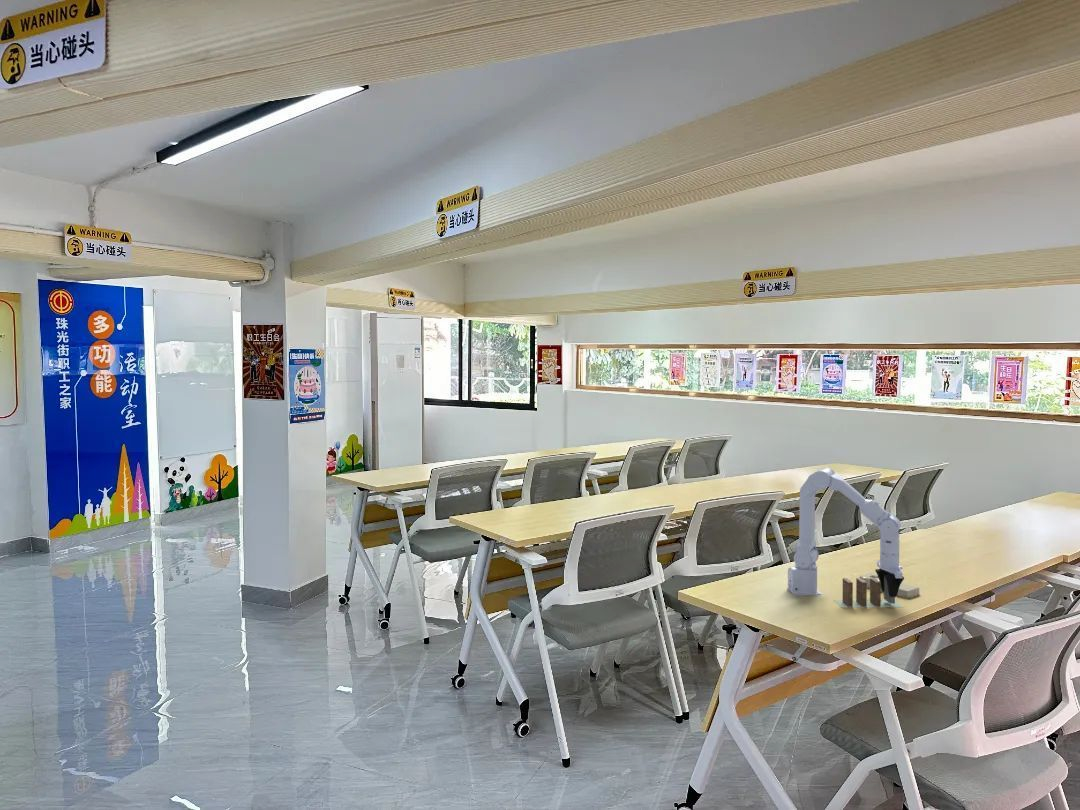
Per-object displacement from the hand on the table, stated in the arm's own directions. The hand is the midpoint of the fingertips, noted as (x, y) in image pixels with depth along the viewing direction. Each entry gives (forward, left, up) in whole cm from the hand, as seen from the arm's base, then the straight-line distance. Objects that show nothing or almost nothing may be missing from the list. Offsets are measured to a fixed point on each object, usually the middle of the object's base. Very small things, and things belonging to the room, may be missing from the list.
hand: (889, 593), depth 241 cm
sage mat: (-6, 0, -4) cm, 7 cm away
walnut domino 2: (-9, 0, -3) cm, 10 cm away
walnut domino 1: (-13, 0, -3) cm, 14 cm away
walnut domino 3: (-4, 0, -3) cm, 6 cm away
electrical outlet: (+7, +16, -4) cm, 17 cm away
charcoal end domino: (0, 0, -2) cm, 2 cm away
